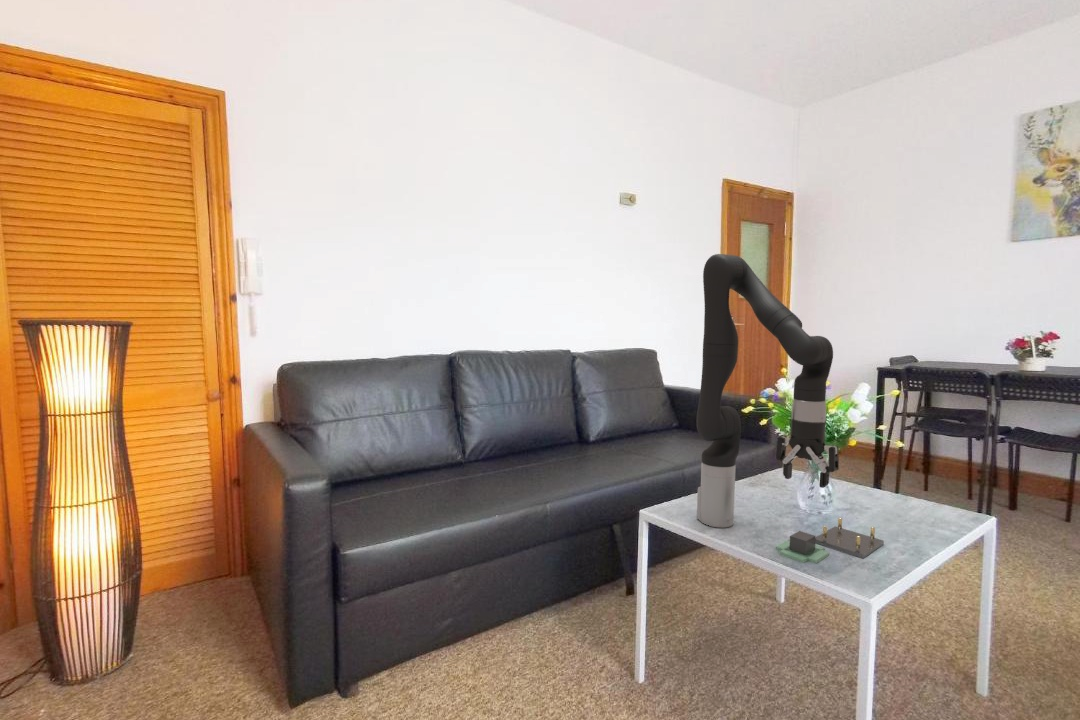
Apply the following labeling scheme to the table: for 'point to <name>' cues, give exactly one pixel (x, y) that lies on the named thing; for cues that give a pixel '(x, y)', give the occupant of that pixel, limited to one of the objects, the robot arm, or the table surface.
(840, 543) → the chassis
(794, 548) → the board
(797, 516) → the table surface
